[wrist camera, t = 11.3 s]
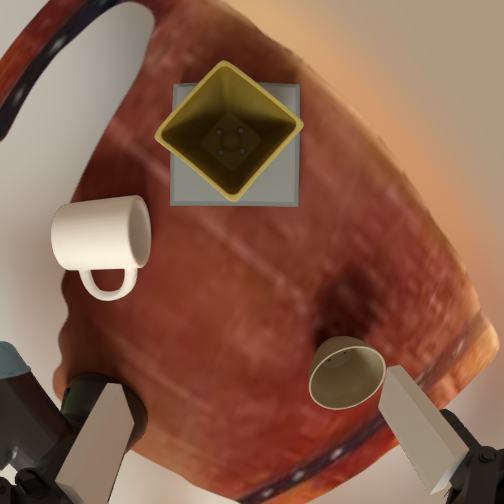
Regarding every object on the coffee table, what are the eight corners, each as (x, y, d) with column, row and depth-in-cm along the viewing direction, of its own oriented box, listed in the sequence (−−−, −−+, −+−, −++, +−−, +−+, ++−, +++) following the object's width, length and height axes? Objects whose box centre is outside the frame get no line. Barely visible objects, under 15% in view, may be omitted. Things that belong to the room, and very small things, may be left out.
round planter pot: (347, 306, 39) (366, 330, 32) (376, 353, 41) (396, 379, 34) (285, 348, 40) (293, 378, 33) (321, 389, 42) (332, 420, 35)
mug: (80, 201, 35) (46, 207, 27) (148, 193, 35) (124, 197, 27) (92, 289, 37) (63, 311, 29) (158, 288, 37) (139, 313, 30)
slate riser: (175, 203, 35) (169, 205, 32) (178, 90, 32) (173, 83, 29) (293, 205, 35) (298, 207, 33) (295, 91, 32) (299, 84, 29)
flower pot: (290, 139, 31) (307, 123, 22) (236, 199, 32) (234, 205, 23) (228, 88, 29) (223, 57, 21) (175, 148, 31) (150, 136, 22)
